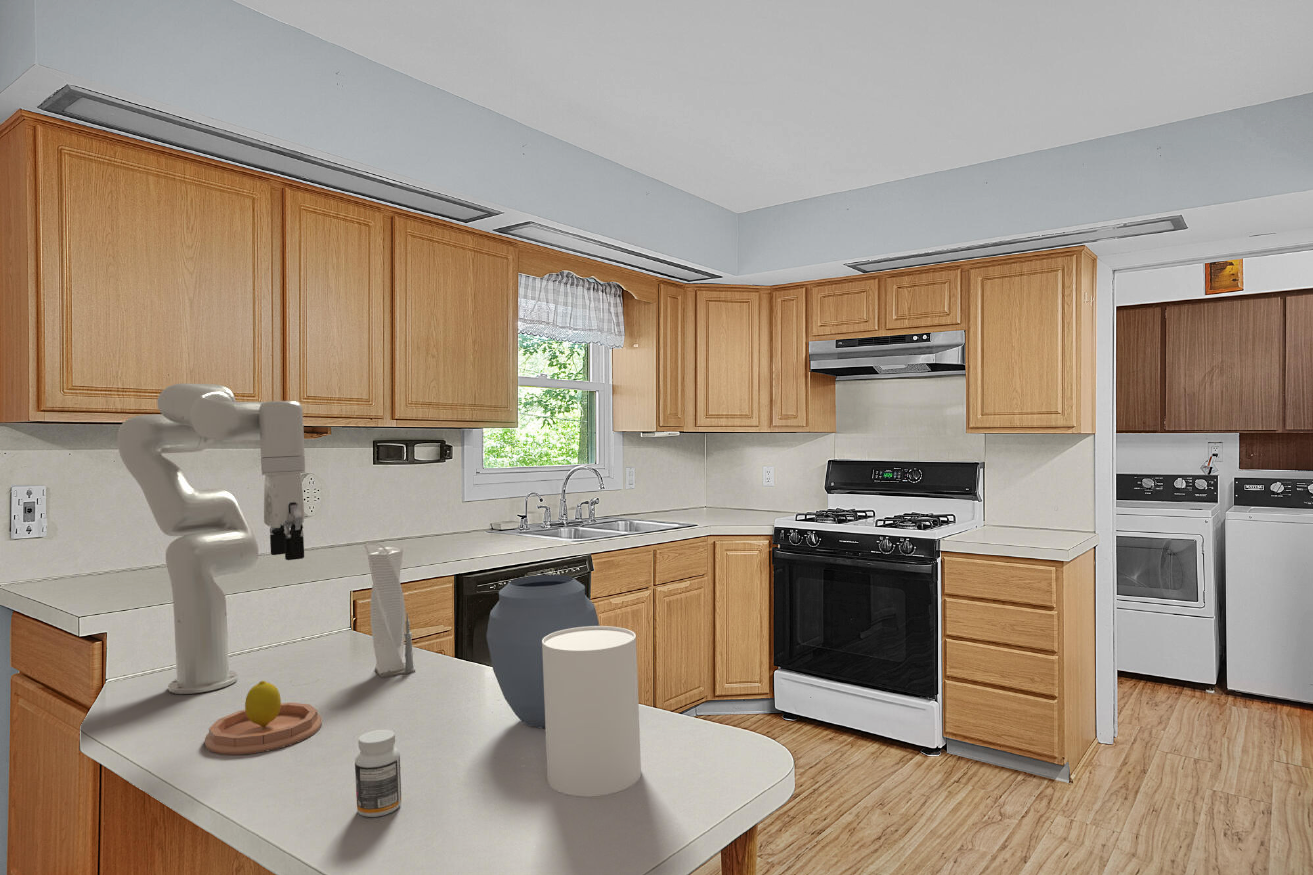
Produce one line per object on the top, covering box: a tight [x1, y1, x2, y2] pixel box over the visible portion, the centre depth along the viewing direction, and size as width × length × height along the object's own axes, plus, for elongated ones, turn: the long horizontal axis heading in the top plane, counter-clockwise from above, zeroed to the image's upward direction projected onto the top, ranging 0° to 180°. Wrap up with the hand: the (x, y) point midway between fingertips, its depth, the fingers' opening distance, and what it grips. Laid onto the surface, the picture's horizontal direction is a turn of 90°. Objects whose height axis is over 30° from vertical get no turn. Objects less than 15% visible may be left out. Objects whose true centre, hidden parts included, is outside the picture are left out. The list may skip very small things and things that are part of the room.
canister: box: [542, 625, 642, 797], centre depth 117 cm, size 14×14×20 cm
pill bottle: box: [354, 729, 402, 818], centre depth 109 cm, size 6×6×10 cm
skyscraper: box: [364, 542, 416, 679], centre depth 173 cm, size 8×8×28 cm
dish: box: [204, 702, 323, 756], centre depth 138 cm, size 18×18×2 cm
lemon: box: [244, 680, 282, 727], centre depth 138 cm, size 6×6×8 cm
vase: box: [485, 574, 601, 729], centre depth 139 cm, size 20×20×24 cm
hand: (287, 556), depth 152 cm, fingers open, 9 cm apart
